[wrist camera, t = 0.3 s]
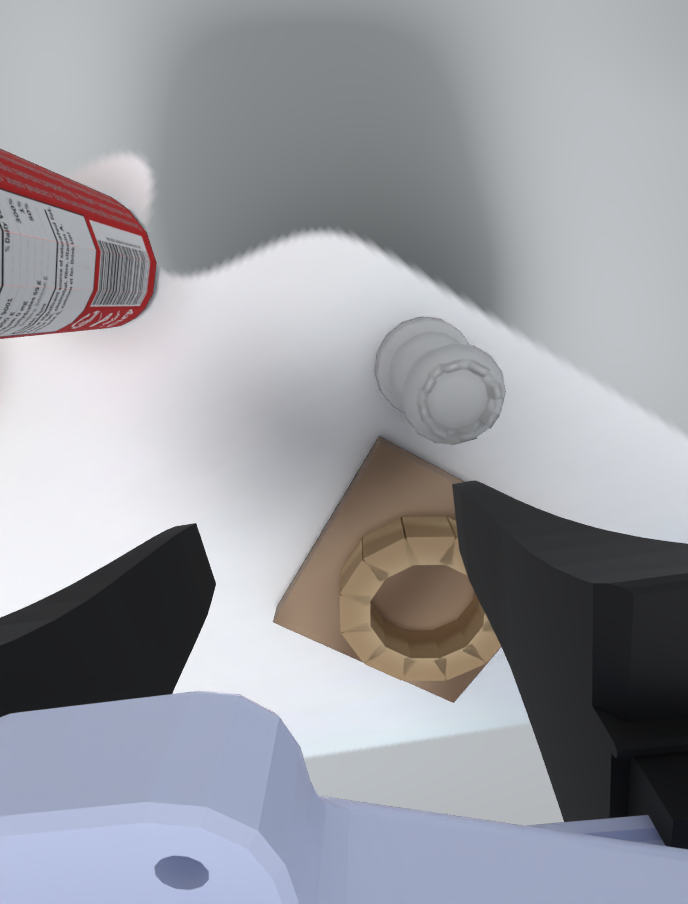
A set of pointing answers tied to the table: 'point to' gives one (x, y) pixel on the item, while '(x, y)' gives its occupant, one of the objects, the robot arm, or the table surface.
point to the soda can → (67, 255)
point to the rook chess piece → (439, 380)
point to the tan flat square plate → (394, 579)
